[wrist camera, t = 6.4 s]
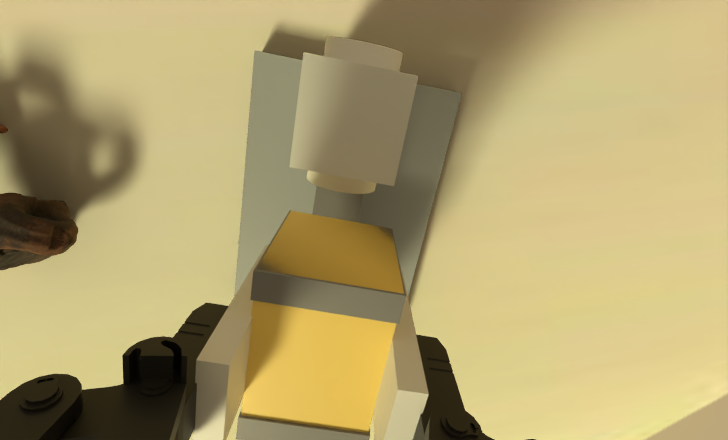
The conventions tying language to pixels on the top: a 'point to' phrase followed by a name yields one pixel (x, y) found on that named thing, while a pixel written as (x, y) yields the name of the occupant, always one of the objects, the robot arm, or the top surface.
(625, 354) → the top surface
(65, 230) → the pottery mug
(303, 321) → the box
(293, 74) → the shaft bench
